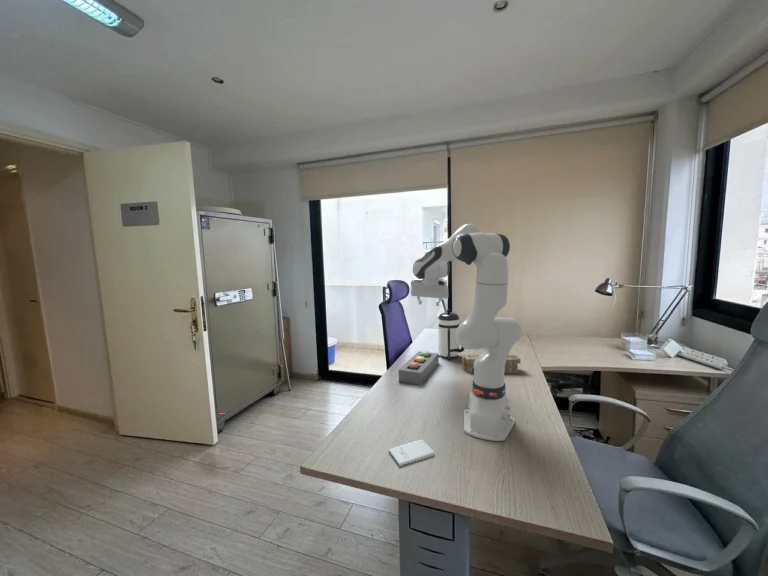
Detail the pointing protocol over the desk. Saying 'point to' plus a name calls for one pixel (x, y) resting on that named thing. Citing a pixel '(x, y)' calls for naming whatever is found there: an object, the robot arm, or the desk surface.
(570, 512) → the desk surface
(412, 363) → the brick button
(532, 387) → the desk surface
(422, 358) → the ochre button
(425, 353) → the sage button
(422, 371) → the button panel
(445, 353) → the coffee press
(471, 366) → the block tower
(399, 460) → the external hard drive
